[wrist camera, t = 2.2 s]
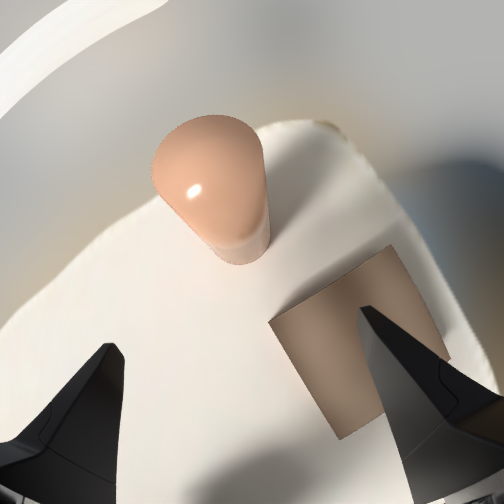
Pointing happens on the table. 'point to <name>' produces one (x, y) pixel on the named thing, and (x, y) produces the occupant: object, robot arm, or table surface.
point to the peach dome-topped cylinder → (217, 185)
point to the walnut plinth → (352, 337)
